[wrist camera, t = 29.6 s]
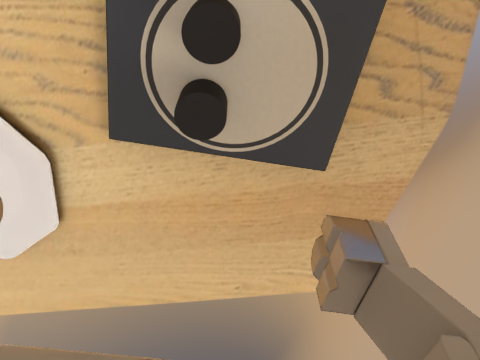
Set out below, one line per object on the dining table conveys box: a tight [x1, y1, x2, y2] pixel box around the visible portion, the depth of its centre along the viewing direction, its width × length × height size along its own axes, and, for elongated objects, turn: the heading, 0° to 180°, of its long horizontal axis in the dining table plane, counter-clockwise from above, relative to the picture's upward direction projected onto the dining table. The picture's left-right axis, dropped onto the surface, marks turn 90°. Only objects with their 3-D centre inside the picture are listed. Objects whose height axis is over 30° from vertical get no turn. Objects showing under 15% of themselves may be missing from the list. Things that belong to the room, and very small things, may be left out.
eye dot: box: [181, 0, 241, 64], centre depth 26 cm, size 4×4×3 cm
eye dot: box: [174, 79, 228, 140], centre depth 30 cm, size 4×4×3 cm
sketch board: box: [106, 0, 386, 171], centre depth 30 cm, size 20×16×1 cm
